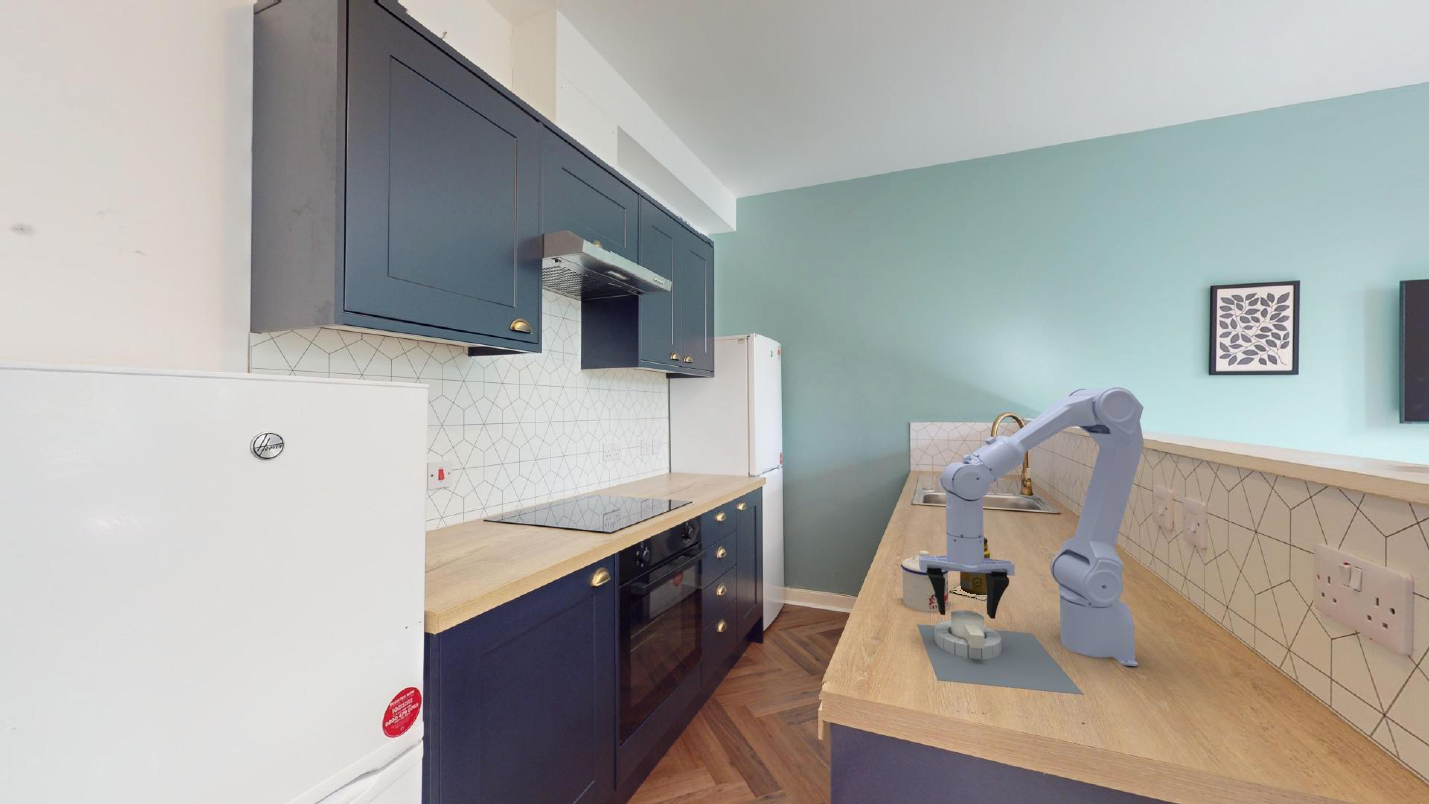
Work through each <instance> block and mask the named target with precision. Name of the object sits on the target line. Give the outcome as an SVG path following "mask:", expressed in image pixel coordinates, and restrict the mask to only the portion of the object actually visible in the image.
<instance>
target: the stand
mask: <svg viewBox="0 0 1429 804" xmlns="http://www.w3.org/2000/svg"><path fill="white" fill-rule="evenodd" d="M916 626H917V628H918V631H919V633H920V636H921V639H922V641H923V645H924V648H925V650H926V652H927V655H928V659H929V661H930V664H931V667H932V669H933V671H934V674H935V677H936V679H937V681H939V682H940V681H941V682H950V683H951V682H952V683H960V684H961V683H962V684H971V685H982V686H988V687H989V686H992V687H1000V688H1001V687H1002V688H1003V687H1004V688H1011V689H1012V688H1013V689H1021V690H1031V691H1041V692H1043V691H1044V692H1051V693H1062V694H1070V695H1071V694H1073V695H1081V696H1082V695H1083V696H1084V695H1085V693H1084V692H1082V690H1081V689H1080V688H1079V687H1078V686H1077V685H1076V683H1075V682H1074V681H1073V680H1072V678H1071V677H1070V676H1069V675H1068V674H1067V673H1066V671H1064V669H1063V668H1062V667H1061V666H1060V665H1059V663H1058V662H1057V661H1056V659H1054V658H1053V657H1052V655H1051V654H1050V653H1049V651H1047V650H1046V649H1045V647H1044V646H1043V645H1042V643H1041V642H1040V641H1039V640H1038V639H1037V638H1036V637H1035V635H1034V634H1033V633H1032V632H1026V631H1025V632H1024V631H1023V632H1022V631H1014V630H1013V631H1011V630H998V629H997V630H996V629H993V628H991V627H990V626H989V627H988V626H986V625H984V639H985V649H982V648H971V647H970V645H969V643H968V642H967V640H964V639H960V638H957V637H955V636H953V635H951V620H945V621H941V622H939V623H936V625H931V624H921V623H920V624H919V623H917V625H916Z"/></svg>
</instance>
